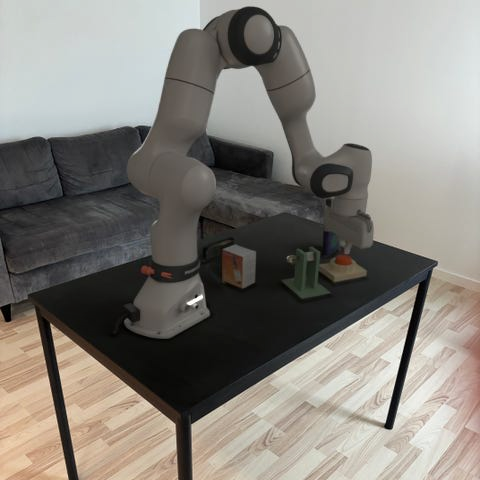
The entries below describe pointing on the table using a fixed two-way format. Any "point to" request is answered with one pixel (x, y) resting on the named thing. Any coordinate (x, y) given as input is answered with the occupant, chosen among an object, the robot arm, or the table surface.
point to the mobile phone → (216, 247)
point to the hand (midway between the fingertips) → (344, 252)
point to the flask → (329, 242)
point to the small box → (238, 266)
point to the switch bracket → (303, 283)
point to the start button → (343, 260)
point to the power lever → (291, 259)
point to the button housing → (342, 270)
